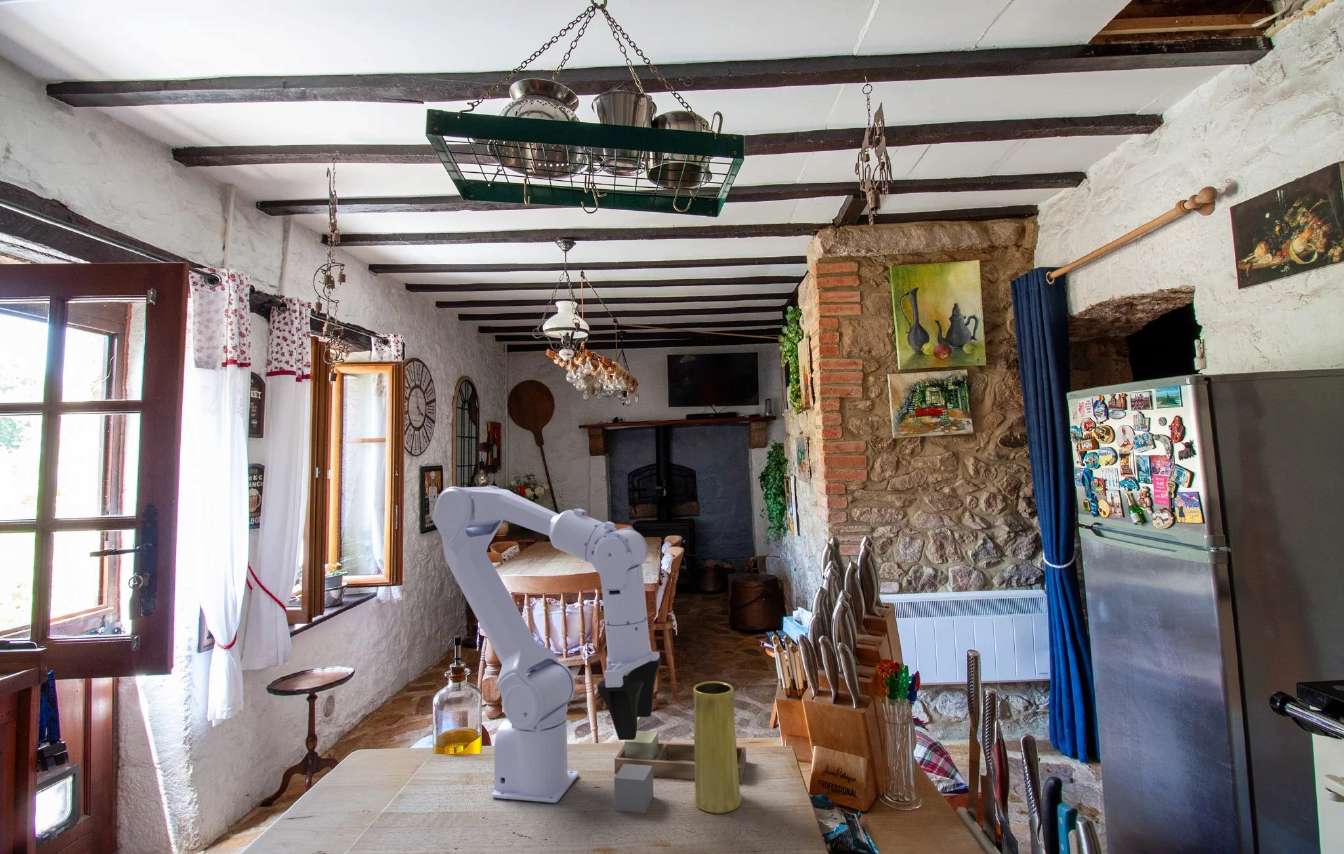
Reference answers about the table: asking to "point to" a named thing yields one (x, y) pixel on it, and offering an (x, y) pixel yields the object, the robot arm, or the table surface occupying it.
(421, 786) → the table surface
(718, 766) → the vase
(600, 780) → the table surface
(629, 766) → the grey block
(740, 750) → the walnut rack
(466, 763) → the table surface
